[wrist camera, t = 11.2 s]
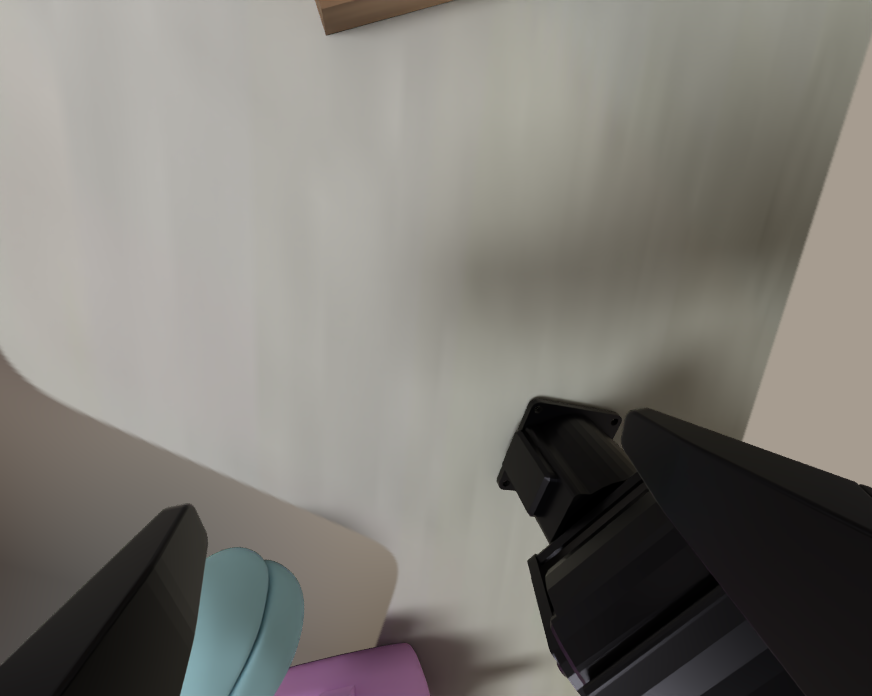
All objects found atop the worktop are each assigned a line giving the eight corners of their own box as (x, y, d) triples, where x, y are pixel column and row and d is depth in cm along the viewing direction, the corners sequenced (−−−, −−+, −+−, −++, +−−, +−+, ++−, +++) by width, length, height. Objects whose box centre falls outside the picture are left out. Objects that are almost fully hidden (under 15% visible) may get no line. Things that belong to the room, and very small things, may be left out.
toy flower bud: (-10, 833, 16) (153, 701, 14) (114, 612, 24) (233, 501, 22) (155, 847, 19) (315, 740, 17) (219, 646, 27) (334, 552, 25)
